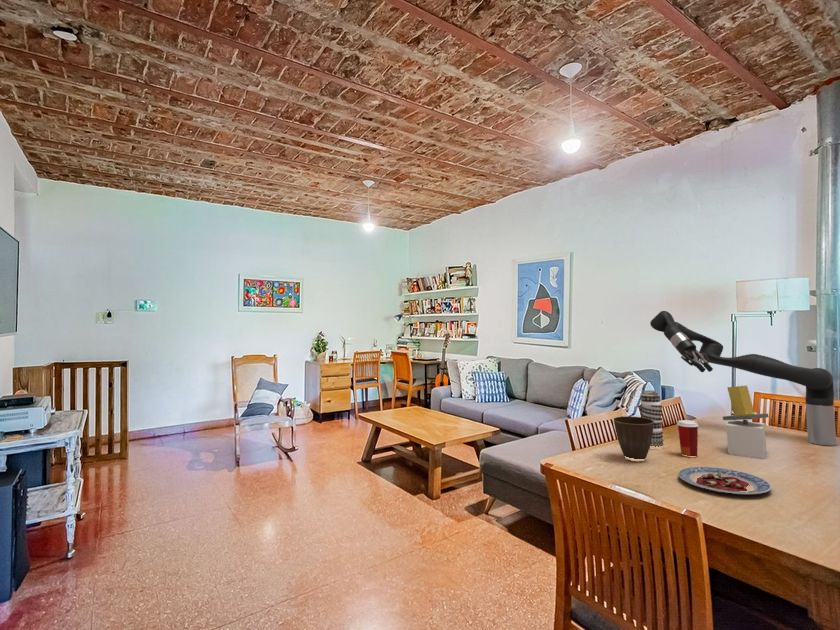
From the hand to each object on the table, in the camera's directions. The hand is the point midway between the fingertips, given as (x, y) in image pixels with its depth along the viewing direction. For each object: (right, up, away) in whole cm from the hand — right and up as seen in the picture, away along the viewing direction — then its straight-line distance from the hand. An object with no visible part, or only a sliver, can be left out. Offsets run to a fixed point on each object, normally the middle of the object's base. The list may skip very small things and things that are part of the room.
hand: (707, 370), depth 197 cm
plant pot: (-44, -34, -21) cm, 59 cm away
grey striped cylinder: (-27, -34, -4) cm, 44 cm away
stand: (+6, -32, -16) cm, 37 cm away
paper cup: (-20, -33, -18) cm, 43 cm away
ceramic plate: (-29, -32, -51) cm, 67 cm away
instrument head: (+5, -17, -16) cm, 24 cm away
